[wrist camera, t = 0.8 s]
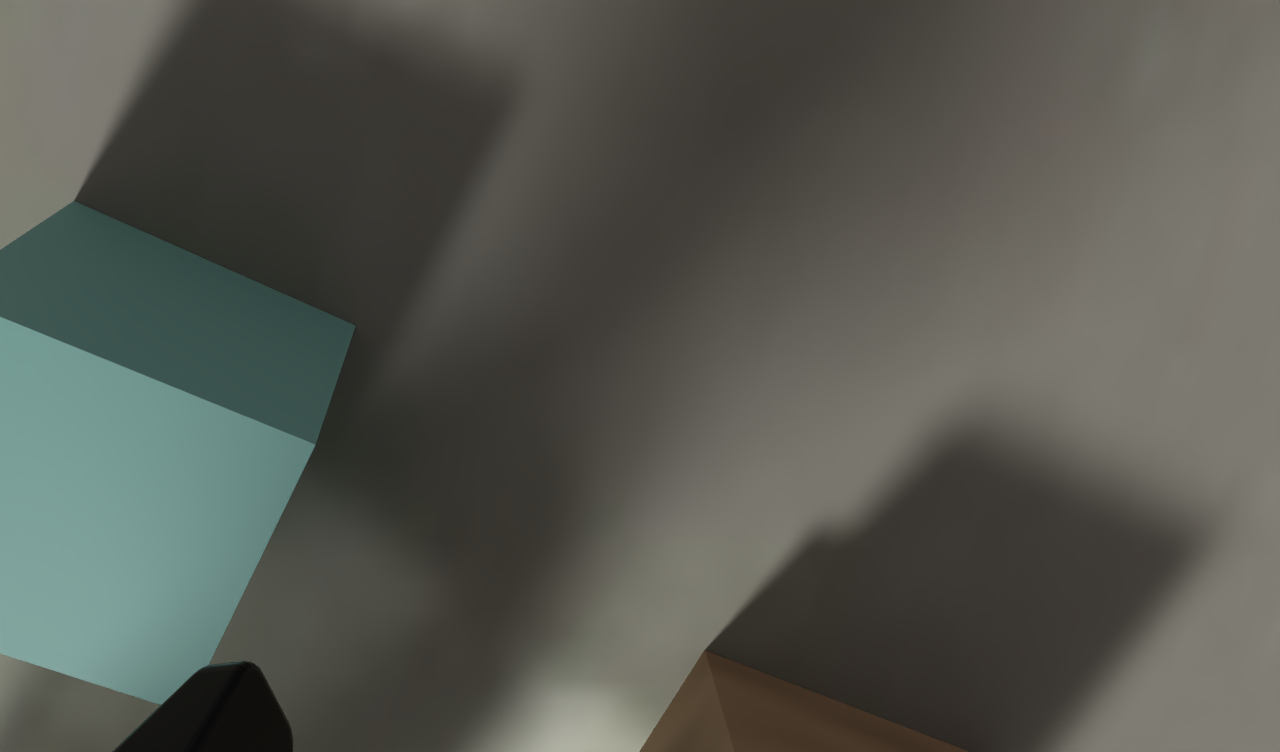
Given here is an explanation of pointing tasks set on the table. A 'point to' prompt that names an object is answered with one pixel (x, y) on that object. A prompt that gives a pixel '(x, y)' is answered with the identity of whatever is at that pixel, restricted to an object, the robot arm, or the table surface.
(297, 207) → the table surface
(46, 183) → the table surface
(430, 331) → the table surface
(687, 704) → the tower base
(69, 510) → the teal cube
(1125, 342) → the table surface
